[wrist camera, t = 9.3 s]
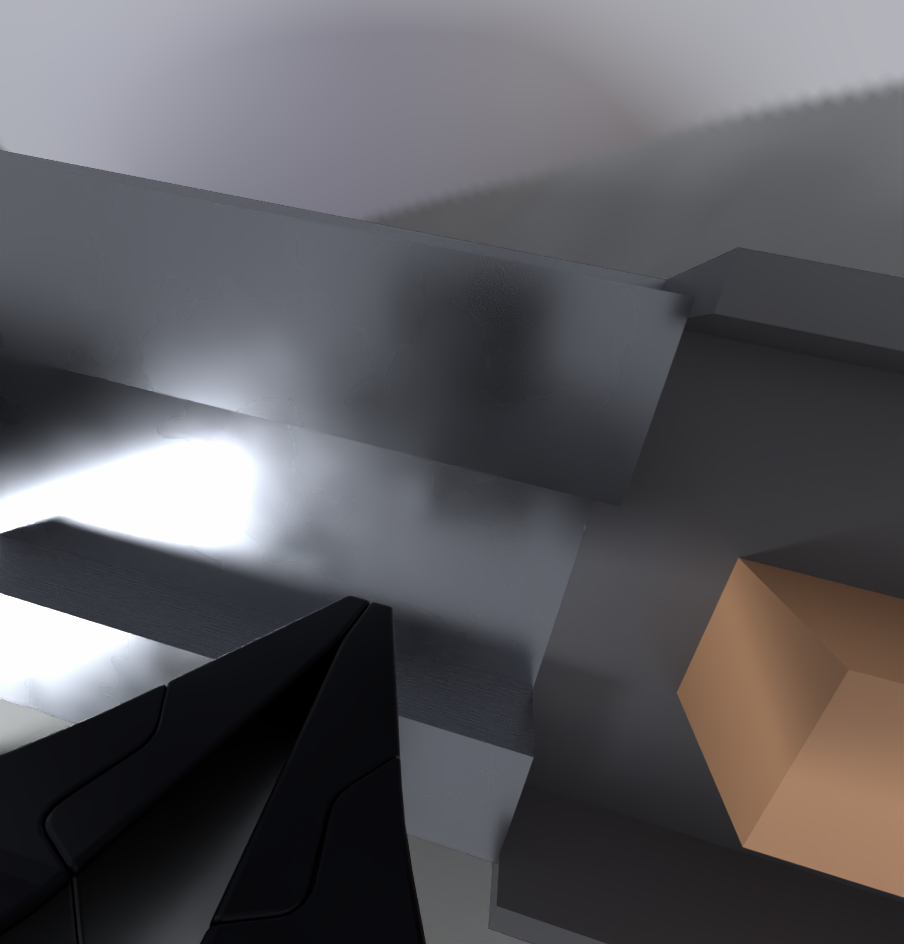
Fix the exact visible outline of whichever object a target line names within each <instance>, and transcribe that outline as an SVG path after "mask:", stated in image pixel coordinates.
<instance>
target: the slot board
mask: <svg viewBox="0 0 904 944" xmlns="http://www.w3.org/2000/svg"><path fill="white" fill-rule="evenodd" d="M666 281H667V280H664V279H659V278H653V277H648V276H643V275H638V274H633V273H628V272H623V271H618V270H612V269H607V268H602V267H597V266H592V265H587V264H582V263H576V262H571V261H566V260H561V259H556V258H551V257H546V256H541V255H535V254H530V253H525V252H520V251H515V250H510V249H505V248H500V247H494V246H489V245H484V244H479V243H474V242H469V241H464V240H458V239H453V238H448V237H443V236H438V235H433V234H428V233H423V232H417V231H412V230H407V229H402V228H397V227H392V226H387V225H381V224H376V223H371V222H366V221H361V220H356V219H351V218H346V217H340V216H335V215H330V214H325V213H319V212H314V211H309V210H304V209H299V208H293V207H289V206H284V205H279V204H274V203H269V202H263V201H258V200H253V199H248V198H242V197H237V196H232V195H227V194H222V193H217V192H212V191H207V190H202V189H197V188H192V187H186V186H181V185H176V184H171V183H165V182H161V181H156V180H150V179H145V178H140V177H135V176H130V175H125V174H120V173H114V172H109V171H104V170H99V169H94V168H88V167H84V166H78V165H73V164H68V163H63V162H58V161H53V160H48V159H43V158H37V157H32V156H27V155H22V154H17V153H12V152H7V151H2V150H0V698H1V699H4V700H7V701H10V702H13V703H16V704H19V705H22V706H25V707H28V708H31V709H34V710H37V711H40V712H43V713H46V714H49V715H52V716H55V717H58V718H61V719H64V720H67V721H70V722H73V723H76V724H77V723H79V722H82V721H84V720H86V719H89V718H91V717H93V716H95V715H98V714H100V713H102V712H104V711H106V710H109V709H111V708H113V707H115V706H117V705H120V704H122V703H124V702H126V701H128V700H130V699H133V698H135V697H137V696H139V695H141V694H143V693H145V692H147V691H149V690H152V689H154V688H156V687H158V686H160V685H162V684H165V685H166V686H167V684H168V682H169V681H171V680H173V679H175V678H177V677H179V676H181V675H183V674H185V673H187V672H190V671H192V670H194V669H196V668H198V667H200V666H202V665H204V664H206V663H208V662H210V661H212V660H215V659H217V658H219V657H221V656H223V655H225V654H227V653H229V652H231V651H233V650H235V649H238V648H240V647H242V646H244V645H246V644H248V643H250V642H252V641H254V640H256V639H258V638H260V637H263V636H265V635H267V634H269V633H271V632H273V631H275V630H277V629H279V628H281V627H283V626H286V625H288V624H290V623H292V622H294V621H296V620H298V619H300V618H302V617H304V616H306V615H308V614H311V613H313V612H315V611H317V610H319V609H321V608H323V607H325V606H327V605H329V604H331V603H333V602H336V601H338V600H340V599H342V598H344V597H346V596H349V595H351V596H355V597H359V598H362V599H366V600H368V601H369V602H370V603H372V602H377V603H380V604H384V605H388V606H391V607H392V609H393V621H394V641H395V661H396V681H397V701H398V721H399V741H400V760H401V776H402V791H403V803H404V814H405V825H406V831H407V834H409V835H412V836H415V837H418V838H421V839H424V840H427V841H430V842H433V843H436V844H439V845H442V846H445V847H448V848H451V849H454V850H457V851H460V852H463V853H466V854H469V855H472V856H475V857H478V858H481V859H484V860H487V861H490V862H493V863H496V864H497V861H498V858H499V855H500V852H501V849H502V846H503V844H504V841H505V838H506V835H507V832H508V829H509V826H510V824H511V821H512V818H513V815H514V812H515V809H516V806H517V804H518V801H519V798H520V795H521V792H522V789H523V787H524V784H525V781H526V778H527V775H528V772H529V769H530V767H531V764H532V761H533V758H534V743H533V687H534V684H535V681H536V677H537V674H538V671H539V668H540V665H541V662H542V659H543V656H544V653H545V650H546V647H547V644H548V641H549V638H550V635H551V632H552V629H553V626H554V623H555V620H556V616H557V613H558V610H559V607H560V604H561V601H562V598H563V595H564V592H565V589H566V586H567V583H568V580H569V577H570V574H571V571H572V568H573V565H574V562H575V559H576V555H577V552H578V549H579V546H580V543H581V540H582V537H583V534H584V531H585V528H586V525H587V522H588V519H589V516H590V513H591V510H592V507H593V504H594V501H595V500H596V501H600V502H604V503H608V504H612V505H617V506H621V507H622V504H623V501H624V498H625V495H626V492H627V489H628V487H629V484H630V481H631V478H632V475H633V472H634V469H635V467H636V464H637V461H638V458H639V455H640V452H641V449H642V447H643V444H644V441H645V438H646V435H647V432H648V429H649V427H650V424H651V421H652V418H653V415H654V412H655V409H656V407H657V404H658V401H659V398H660V395H661V392H662V389H663V387H664V384H665V381H666V378H667V375H668V372H669V369H670V367H671V364H672V361H673V358H674V355H675V352H676V349H677V347H678V344H679V341H680V338H681V335H682V332H683V329H684V327H685V324H686V321H687V318H688V315H689V312H690V309H691V307H692V304H693V301H694V298H695V297H692V296H687V295H682V294H677V293H672V292H667V291H663V290H664V287H665V284H666Z"/></svg>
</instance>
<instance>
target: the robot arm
mask: <svg viewBox="0 0 904 944" xmlns="http://www.w3.org/2000/svg"><path fill="white" fill-rule="evenodd" d="M0 944H426V942H425V936H424V931H423V926H422V920H421V915H420V909H419V904H418V898H417V893H416V888H415V882H414V877H413V871H412V865H411V858H410V851H409V845H408V838H407V831H406V825H405V814H404V803H403V791H402V776H401V760H400V741H399V721H398V701H397V681H396V661H395V641H394V621H393V609H392V607H391V606H388V605H384V604H380V603H377V602H372V603H370V602H369V601H368V600H366V599H362V598H359V597H355V596H351V595H349V596H346V597H344V598H342V599H340V600H338V601H336V602H333V603H331V604H329V605H327V606H325V607H323V608H321V609H319V610H317V611H315V612H313V613H311V614H308V615H306V616H304V617H302V618H300V619H298V620H296V621H294V622H292V623H290V624H288V625H286V626H283V627H281V628H279V629H277V630H275V631H273V632H271V633H269V634H267V635H265V636H263V637H260V638H258V639H256V640H254V641H252V642H250V643H248V644H246V645H244V646H242V647H240V648H238V649H235V650H233V651H231V652H229V653H227V654H225V655H223V656H221V657H219V658H217V659H215V660H212V661H210V662H208V663H206V664H204V665H202V666H200V667H198V668H196V669H194V670H192V671H190V672H187V673H185V674H183V675H181V676H179V677H177V678H175V679H173V680H171V681H169V682H168V684H167V686H166V685H165V684H162V685H160V686H158V687H156V688H154V689H152V690H149V691H147V692H145V693H143V694H141V695H139V696H137V697H135V698H133V699H130V700H128V701H126V702H124V703H122V704H120V705H117V706H115V707H113V708H111V709H109V710H106V711H104V712H102V713H100V714H98V715H95V716H93V717H91V718H89V719H86V720H84V721H82V722H79V723H77V724H74V725H72V726H70V727H67V728H65V729H62V730H60V731H58V732H55V733H53V734H50V735H48V736H46V737H43V738H41V739H38V740H36V741H34V742H31V743H29V744H26V745H24V746H21V747H19V748H16V749H14V750H11V751H9V752H6V753H4V754H1V755H0Z"/></svg>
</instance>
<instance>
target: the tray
mask: <svg viewBox="0 0 904 944" xmlns="http://www.w3.org/2000/svg"><path fill="white" fill-rule="evenodd" d="M663 291H667V292H672V293H677V294H682V295H687V296H692V297H695V298H694V301H693V304H692V307H691V309H690V312H689V315H688V318H687V321H686V324H685V327H684V329H683V332H682V335H681V338H680V341H679V344H678V347H677V349H676V352H675V355H674V358H673V361H672V364H671V367H670V369H669V372H668V375H667V378H666V381H665V384H664V387H663V389H662V392H661V395H660V398H659V401H658V404H657V407H656V409H655V412H654V415H653V418H652V421H651V424H650V427H649V429H648V432H647V435H646V438H645V441H644V444H643V447H642V449H641V452H640V455H639V458H638V461H637V464H636V467H635V469H634V472H633V475H632V478H631V481H630V484H629V487H628V489H627V492H626V495H625V498H624V501H623V504H622V507H621V506H617V505H612V504H608V503H604V502H600V501H596V500H595V501H594V504H593V507H592V510H591V513H590V516H589V519H588V522H587V525H586V528H585V531H584V534H583V537H582V540H581V543H580V546H579V549H578V552H577V555H576V559H575V562H574V565H573V568H572V571H571V574H570V577H569V580H568V583H567V586H566V589H565V592H564V595H563V598H562V601H561V604H560V607H559V610H558V613H557V616H556V620H555V623H554V626H553V629H552V632H551V635H550V638H549V641H548V644H547V647H546V650H545V653H544V656H543V659H542V662H541V665H540V668H539V671H538V674H537V677H536V681H535V684H534V687H533V743H534V758H533V761H532V764H531V767H530V769H529V772H528V775H527V778H526V781H525V784H524V787H523V789H522V792H521V795H520V798H519V801H518V804H517V806H516V809H515V812H514V815H513V818H512V821H511V824H510V826H509V829H508V832H507V835H506V838H505V841H504V844H503V846H502V849H501V852H500V855H499V858H498V861H497V864H496V863H493V866H492V881H491V896H490V911H489V925H488V929H491V930H494V931H497V932H500V933H503V934H505V935H508V936H511V937H514V938H517V939H520V940H523V941H526V942H528V943H531V944H904V897H901V896H898V895H894V894H891V893H888V892H885V891H882V890H878V889H875V888H872V887H869V886H866V885H862V884H859V883H856V882H853V881H850V880H846V879H843V878H840V877H837V876H834V875H830V874H827V873H824V872H821V871H818V870H814V869H811V868H808V867H805V866H802V865H798V864H795V863H792V862H789V861H786V860H782V859H779V858H776V857H773V856H770V855H766V854H763V853H760V852H757V851H754V850H750V849H747V848H744V847H742V844H741V842H740V840H739V837H738V835H737V833H736V830H735V828H734V826H733V823H732V821H731V819H730V816H729V814H728V812H727V809H726V807H725V805H724V802H723V800H722V798H721V795H720V793H719V791H718V788H717V786H716V784H715V781H714V779H713V777H712V774H711V772H710V770H709V767H708V765H707V763H706V760H705V758H704V756H703V753H702V751H701V748H700V746H699V744H698V741H697V739H696V737H695V734H694V732H693V730H692V727H691V725H690V723H689V720H688V718H687V716H686V713H685V711H684V709H683V706H682V704H681V702H680V699H679V697H678V695H677V691H678V689H679V687H680V684H681V682H682V680H683V678H684V676H685V674H686V671H687V669H688V667H689V665H690V663H691V660H692V658H693V656H694V654H695V652H696V649H697V647H698V645H699V643H700V641H701V639H702V636H703V634H704V632H705V630H706V628H707V625H708V623H709V621H710V619H711V617H712V615H713V612H714V610H715V608H716V606H717V604H718V601H719V599H720V597H721V595H722V593H723V591H724V588H725V586H726V584H727V582H728V580H729V577H730V575H731V573H732V571H733V569H734V566H735V564H736V562H737V560H738V558H741V559H745V560H749V561H753V562H757V563H761V564H765V565H769V566H773V567H777V568H781V569H785V570H789V571H793V572H797V573H801V574H805V575H809V576H813V577H817V578H821V579H825V580H829V581H833V582H837V583H841V584H845V585H849V586H853V587H857V588H861V589H865V590H869V591H873V592H877V593H881V594H885V595H889V596H893V597H897V598H900V599H904V278H900V277H895V276H889V275H884V274H879V273H873V272H868V271H862V270H857V269H852V268H846V267H841V266H835V265H830V264H825V263H819V262H814V261H808V260H803V259H797V258H792V257H787V256H781V255H776V254H770V253H765V252H760V251H754V250H749V249H743V248H736V249H733V250H731V251H729V252H727V253H725V254H723V255H720V256H718V257H716V258H714V259H712V260H709V261H707V262H705V263H703V264H701V265H699V266H696V267H694V268H692V269H690V270H688V271H686V272H683V273H681V274H679V275H677V276H675V277H672V278H670V279H668V280H667V281H666V284H665V287H664V290H663Z"/></svg>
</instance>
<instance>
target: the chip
mask: <svg viewBox="0 0 904 944" xmlns="http://www.w3.org/2000/svg"><path fill="white" fill-rule="evenodd" d="M677 695H678V697H679V699H680V702H681V704H682V706H683V709H684V711H685V713H686V716H687V718H688V720H689V723H690V725H691V727H692V730H693V732H694V734H695V737H696V739H697V741H698V744H699V746H700V748H701V751H702V753H703V756H704V758H705V760H706V763H707V765H708V767H709V770H710V772H711V774H712V777H713V779H714V781H715V784H716V786H717V788H718V791H719V793H720V795H721V798H722V800H723V802H724V805H725V807H726V809H727V812H728V814H729V816H730V819H731V821H732V823H733V826H734V828H735V830H736V833H737V835H738V837H739V840H740V842H741V844H742V847H744V848H747V849H750V850H754V851H757V852H760V853H763V854H766V855H770V856H773V857H776V858H779V859H782V860H786V861H789V862H792V863H795V864H798V865H802V866H805V867H808V868H811V869H814V870H818V871H821V872H824V873H827V874H830V875H834V876H837V877H840V878H843V879H846V880H850V881H853V882H856V883H859V884H862V885H866V886H869V887H872V888H875V889H878V890H882V891H885V892H888V893H891V894H894V895H898V896H901V897H904V599H900V598H897V597H893V596H889V595H885V594H881V593H877V592H873V591H869V590H865V589H861V588H857V587H853V586H849V585H845V584H841V583H837V582H833V581H829V580H825V579H821V578H817V577H813V576H809V575H805V574H801V573H797V572H793V571H789V570H785V569H781V568H777V567H773V566H769V565H765V564H761V563H757V562H753V561H749V560H745V559H741V558H738V560H737V562H736V564H735V566H734V569H733V571H732V573H731V575H730V577H729V580H728V582H727V584H726V586H725V588H724V591H723V593H722V595H721V597H720V599H719V601H718V604H717V606H716V608H715V610H714V612H713V615H712V617H711V619H710V621H709V623H708V625H707V628H706V630H705V632H704V634H703V636H702V639H701V641H700V643H699V645H698V647H697V649H696V652H695V654H694V656H693V658H692V660H691V663H690V665H689V667H688V669H687V671H686V674H685V676H684V678H683V680H682V682H681V684H680V687H679V689H678V691H677Z"/></svg>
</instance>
